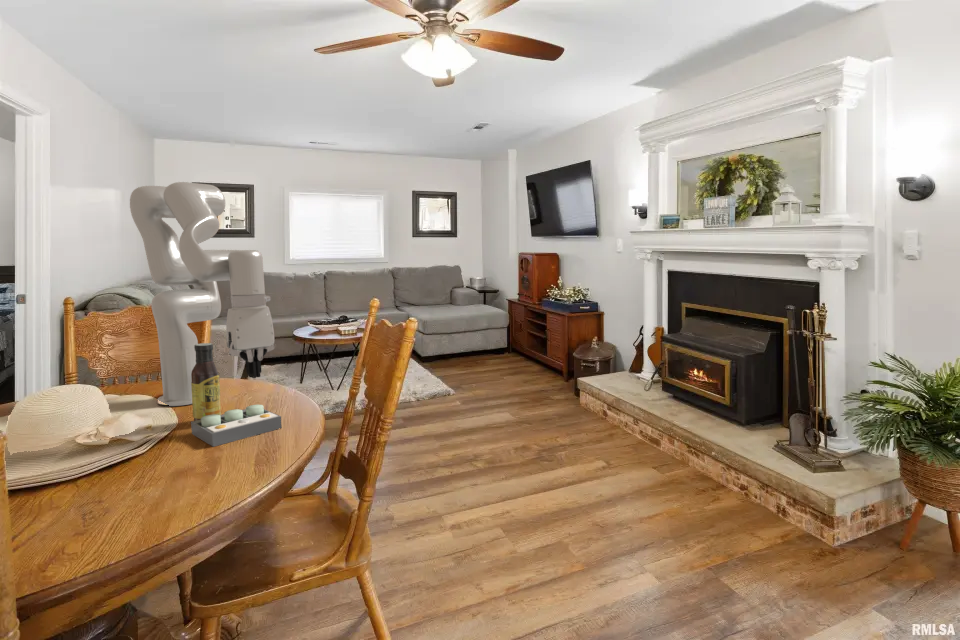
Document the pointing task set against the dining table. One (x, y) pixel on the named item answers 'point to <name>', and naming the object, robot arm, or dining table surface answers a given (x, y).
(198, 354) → the sauce bottle
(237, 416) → the middle button
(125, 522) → the dining table surface
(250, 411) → the end button
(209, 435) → the button board
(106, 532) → the dining table surface
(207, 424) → the end button
